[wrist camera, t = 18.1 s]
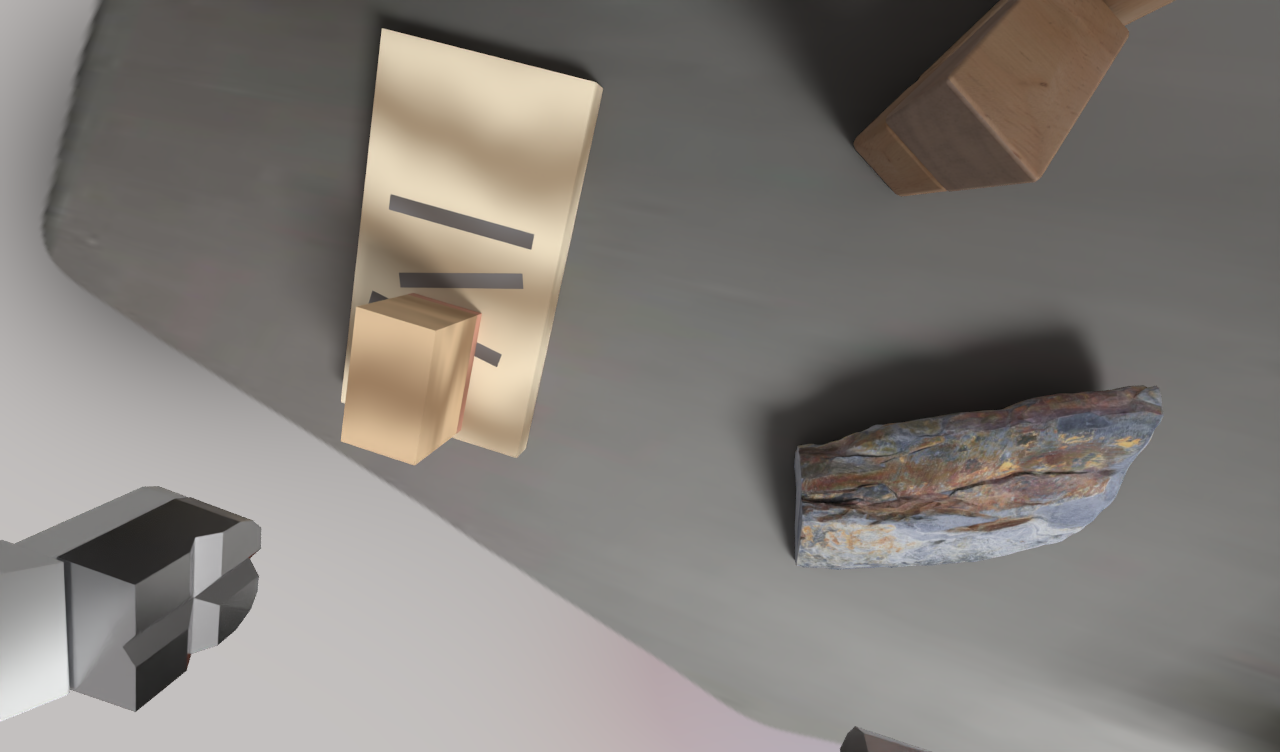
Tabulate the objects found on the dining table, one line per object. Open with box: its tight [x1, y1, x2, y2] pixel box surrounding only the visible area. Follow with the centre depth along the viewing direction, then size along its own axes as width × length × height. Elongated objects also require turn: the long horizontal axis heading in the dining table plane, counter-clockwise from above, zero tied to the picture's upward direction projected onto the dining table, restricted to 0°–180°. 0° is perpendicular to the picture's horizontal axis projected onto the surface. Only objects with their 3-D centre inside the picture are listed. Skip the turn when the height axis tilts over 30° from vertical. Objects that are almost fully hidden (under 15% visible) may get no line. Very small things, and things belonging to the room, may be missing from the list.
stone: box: [794, 386, 1164, 569], centre depth 30 cm, size 17×5×10 cm
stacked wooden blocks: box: [853, 0, 1175, 196], centre depth 18 cm, size 4×11×18 cm, turn 135°
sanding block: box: [341, 293, 482, 465], centre depth 31 cm, size 7×4×5 cm, turn 166°
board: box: [341, 28, 603, 458], centre depth 32 cm, size 20×11×2 cm, turn 166°
